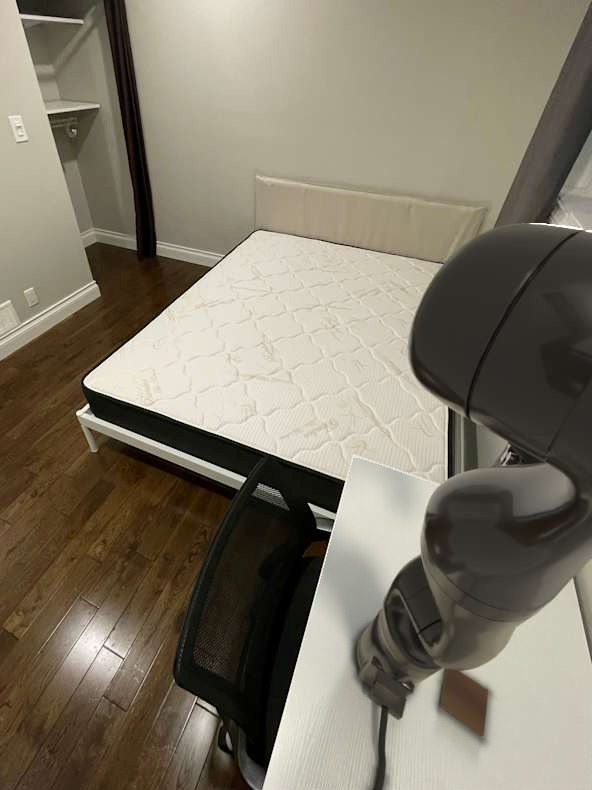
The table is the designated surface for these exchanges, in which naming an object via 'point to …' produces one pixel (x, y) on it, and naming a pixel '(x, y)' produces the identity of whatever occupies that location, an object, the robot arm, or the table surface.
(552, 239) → the robot arm
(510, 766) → the table surface
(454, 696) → the coaster
